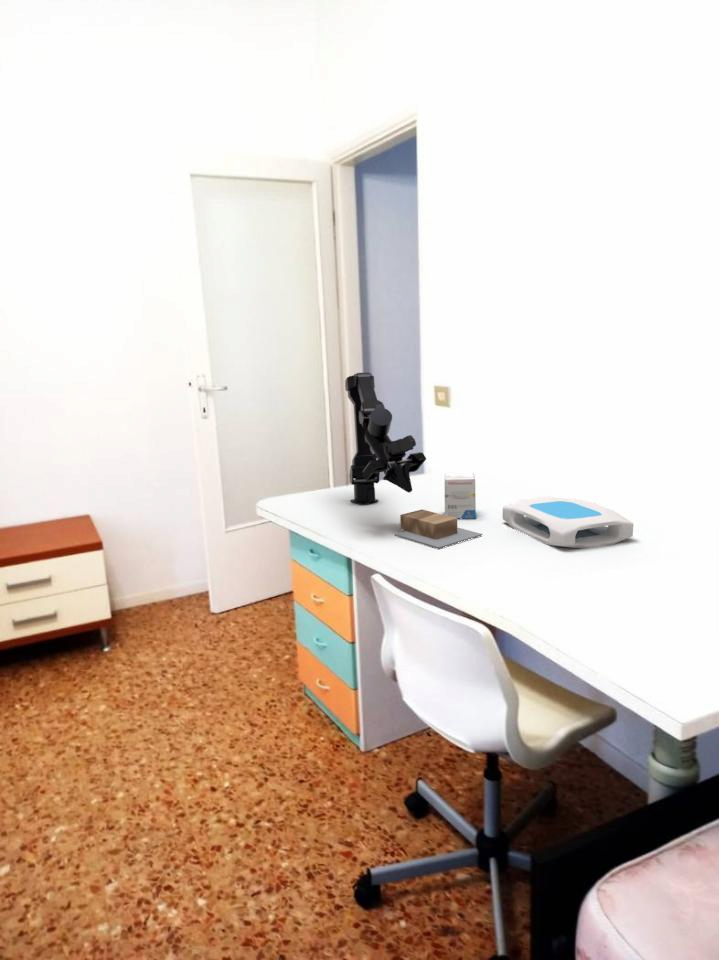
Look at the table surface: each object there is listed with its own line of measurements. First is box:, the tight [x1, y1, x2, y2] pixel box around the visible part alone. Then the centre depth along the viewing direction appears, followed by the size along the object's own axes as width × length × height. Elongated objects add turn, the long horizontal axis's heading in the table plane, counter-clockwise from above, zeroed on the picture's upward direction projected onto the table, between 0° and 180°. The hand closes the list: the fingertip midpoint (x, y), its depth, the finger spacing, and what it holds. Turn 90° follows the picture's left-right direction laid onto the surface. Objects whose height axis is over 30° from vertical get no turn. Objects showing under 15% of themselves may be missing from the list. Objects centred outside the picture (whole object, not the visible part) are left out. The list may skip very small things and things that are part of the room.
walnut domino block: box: [399, 509, 458, 540], centre depth 182 cm, size 4×8×13 cm
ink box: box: [444, 472, 477, 520], centre depth 197 cm, size 9×8×12 cm
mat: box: [394, 526, 484, 550], centre depth 179 cm, size 16×16×1 cm
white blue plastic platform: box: [502, 496, 634, 549], centre depth 179 cm, size 21×28×6 cm
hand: (410, 491), depth 181 cm, fingers closed
